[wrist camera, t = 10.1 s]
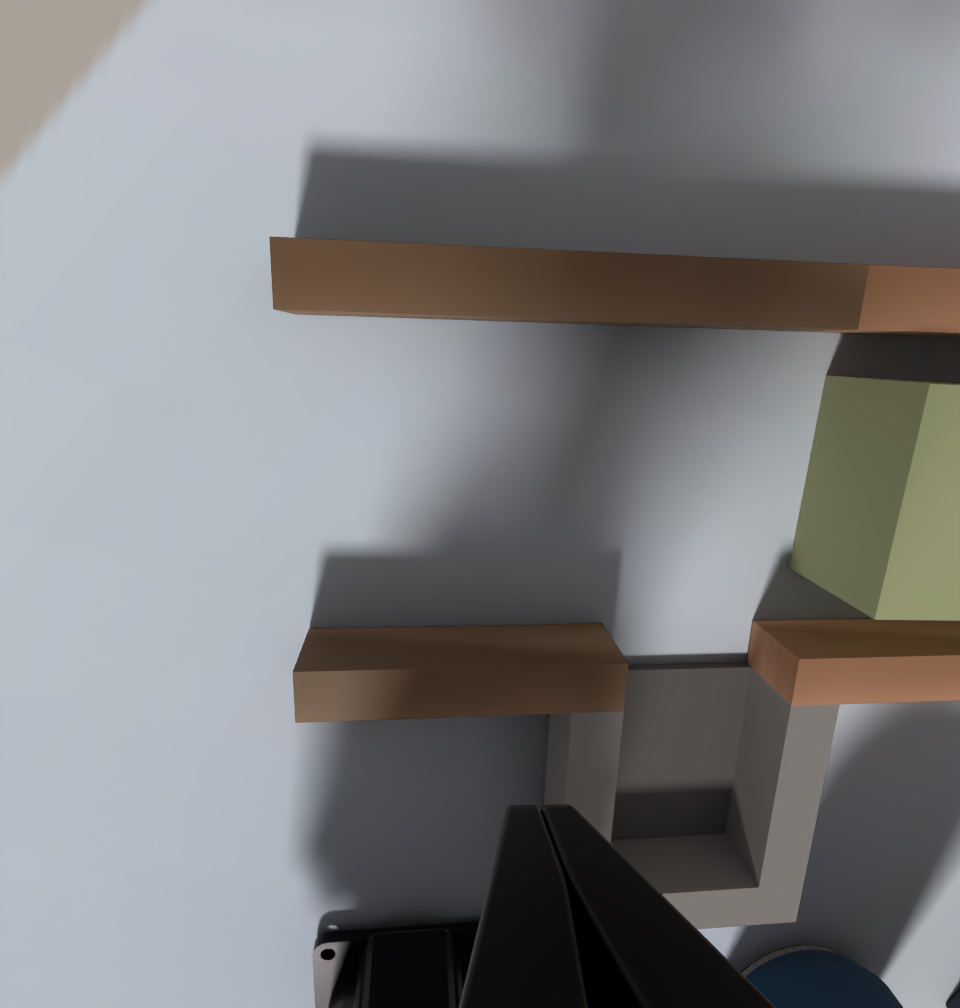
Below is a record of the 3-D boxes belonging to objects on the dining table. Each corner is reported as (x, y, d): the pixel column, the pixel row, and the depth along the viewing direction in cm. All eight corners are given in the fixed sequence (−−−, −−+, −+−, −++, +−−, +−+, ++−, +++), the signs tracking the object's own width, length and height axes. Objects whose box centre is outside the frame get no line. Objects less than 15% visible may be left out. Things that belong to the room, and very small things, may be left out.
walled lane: (1005, 662, 21) (1081, 703, 19) (311, 681, 19) (295, 730, 16) (1110, 279, 18) (1216, 270, 16) (291, 242, 16) (269, 223, 13)
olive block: (955, 568, 20) (1080, 621, 16) (785, 565, 20) (874, 619, 16) (1004, 385, 19) (1154, 396, 15) (821, 374, 18) (930, 383, 14)
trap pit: (754, 859, 22) (795, 921, 20) (538, 872, 22) (554, 939, 19) (789, 661, 20) (839, 704, 18) (552, 667, 19) (571, 713, 17)
